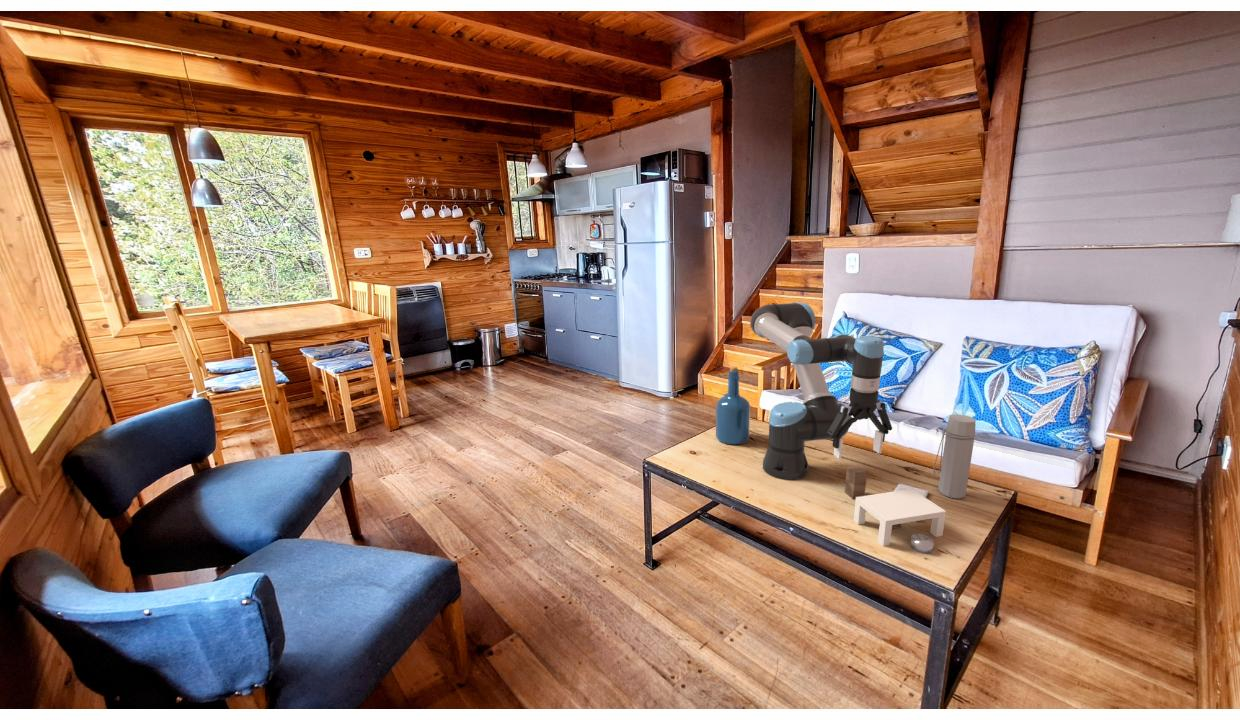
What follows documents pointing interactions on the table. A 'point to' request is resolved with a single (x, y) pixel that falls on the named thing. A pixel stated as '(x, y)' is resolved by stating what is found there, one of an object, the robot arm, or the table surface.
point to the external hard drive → (905, 487)
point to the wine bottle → (733, 413)
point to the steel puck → (922, 543)
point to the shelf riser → (899, 511)
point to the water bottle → (956, 455)
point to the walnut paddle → (857, 483)
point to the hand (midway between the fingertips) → (857, 454)
